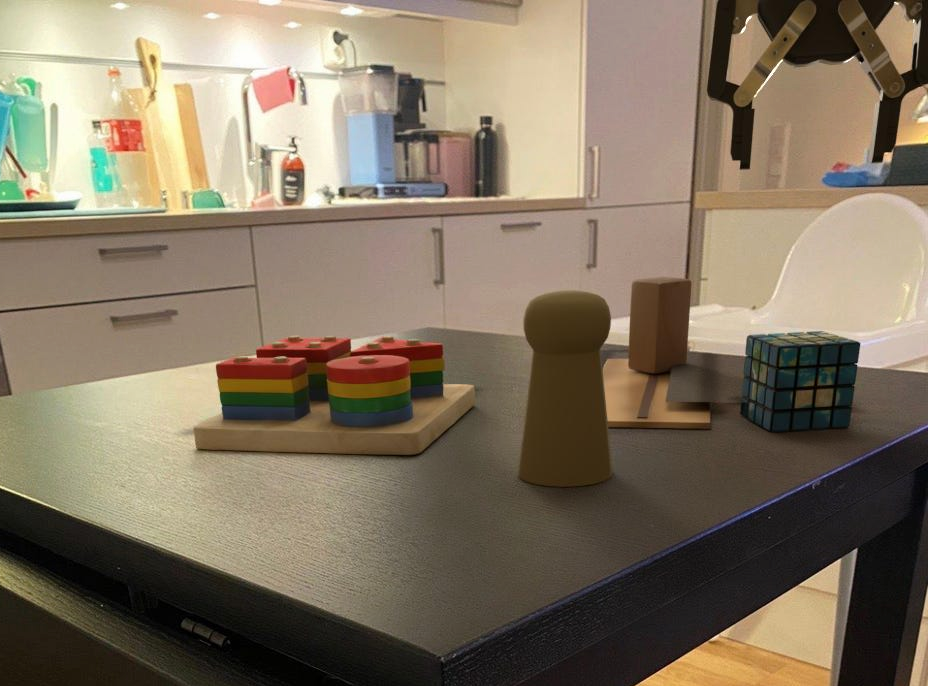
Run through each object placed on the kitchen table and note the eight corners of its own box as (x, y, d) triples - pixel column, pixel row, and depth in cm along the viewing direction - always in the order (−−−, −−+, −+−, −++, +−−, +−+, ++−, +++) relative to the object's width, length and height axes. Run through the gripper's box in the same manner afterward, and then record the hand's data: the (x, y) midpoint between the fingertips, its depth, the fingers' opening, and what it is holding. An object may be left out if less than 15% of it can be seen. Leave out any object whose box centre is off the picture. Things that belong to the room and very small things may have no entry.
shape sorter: (287, 401, 87) (280, 330, 84) (476, 404, 82) (475, 330, 80) (192, 449, 72) (180, 365, 69) (418, 456, 67) (414, 366, 65)
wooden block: (687, 370, 90) (693, 278, 87) (654, 375, 88) (659, 282, 85) (658, 364, 93) (663, 276, 90) (625, 369, 91) (629, 279, 88)
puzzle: (739, 415, 75) (746, 334, 73) (813, 410, 76) (823, 330, 73) (770, 432, 70) (778, 346, 67) (850, 427, 70) (862, 341, 68)
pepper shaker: (498, 476, 62) (495, 295, 57) (555, 456, 66) (556, 285, 61) (575, 492, 58) (579, 299, 54) (631, 470, 62) (639, 288, 57)
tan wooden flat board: (709, 363, 96) (710, 357, 96) (710, 429, 71) (710, 421, 71) (607, 363, 98) (607, 357, 98) (574, 426, 74) (574, 418, 73)
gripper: (951, -121, 62) (910, 162, 69) (719, -96, 65) (702, 171, 72) (978, -156, 55) (930, 161, 62) (719, -126, 59) (701, 171, 65)
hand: (808, 166), depth 67 cm, fingers open, 8 cm apart
